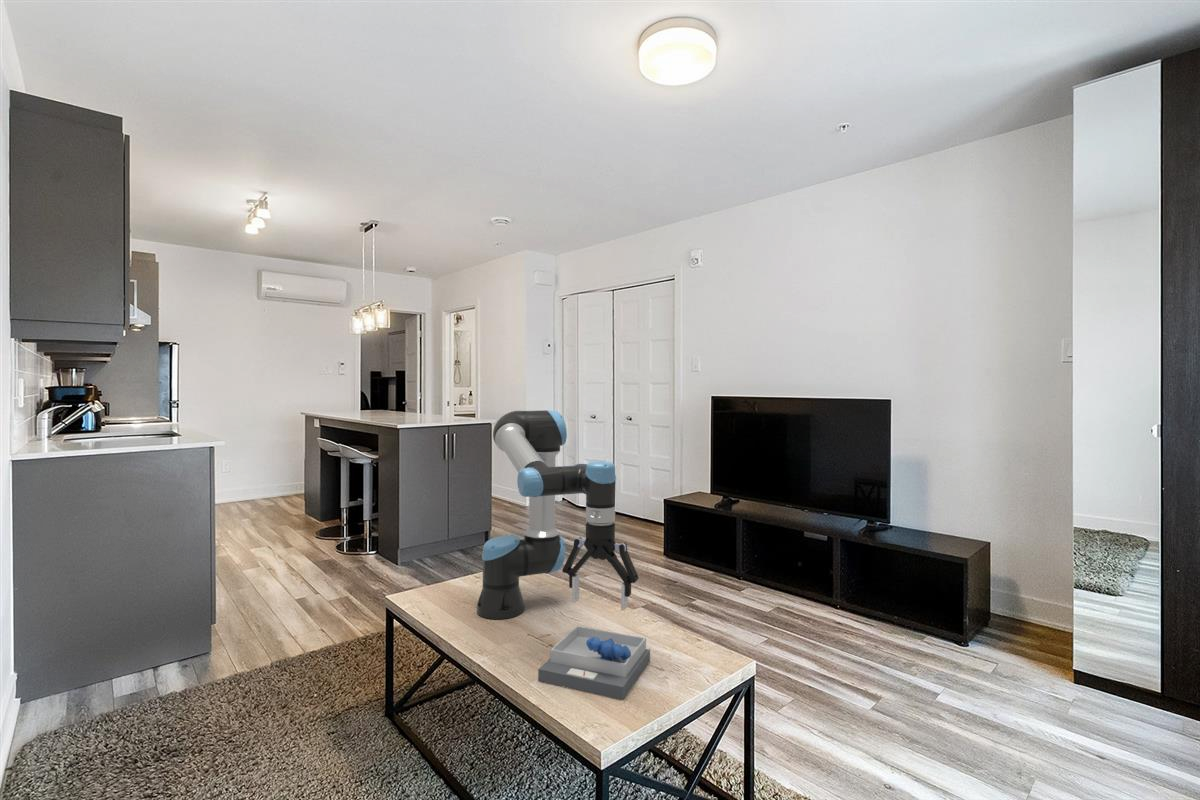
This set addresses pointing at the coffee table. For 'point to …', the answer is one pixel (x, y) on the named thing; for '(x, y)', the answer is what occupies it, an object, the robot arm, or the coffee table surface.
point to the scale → (595, 664)
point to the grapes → (608, 649)
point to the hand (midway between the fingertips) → (599, 604)
